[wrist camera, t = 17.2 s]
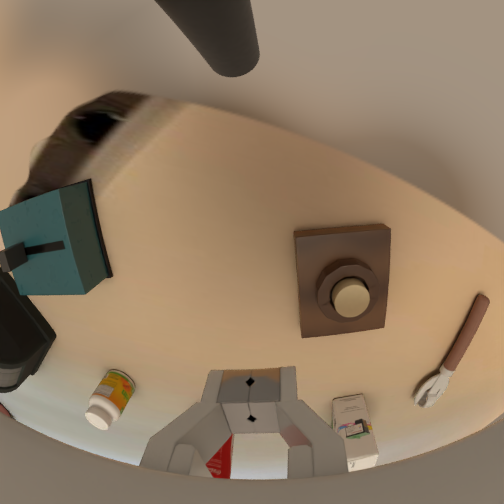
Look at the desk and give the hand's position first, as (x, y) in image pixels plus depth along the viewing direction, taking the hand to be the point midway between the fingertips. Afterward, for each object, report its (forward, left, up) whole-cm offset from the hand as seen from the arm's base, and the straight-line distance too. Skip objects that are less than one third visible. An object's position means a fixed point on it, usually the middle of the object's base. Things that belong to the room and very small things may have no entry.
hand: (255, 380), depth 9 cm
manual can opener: (+22, +26, -22) cm, 40 cm away
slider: (-2, -30, -15) cm, 34 cm away
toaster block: (-2, -28, -22) cm, 35 cm away
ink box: (+31, +9, -22) cm, 39 cm away
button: (+7, +7, -18) cm, 20 cm away
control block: (+7, +7, -22) cm, 24 cm away
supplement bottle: (+23, -27, -22) cm, 41 cm away
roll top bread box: (+13, -50, -22) cm, 56 cm away
